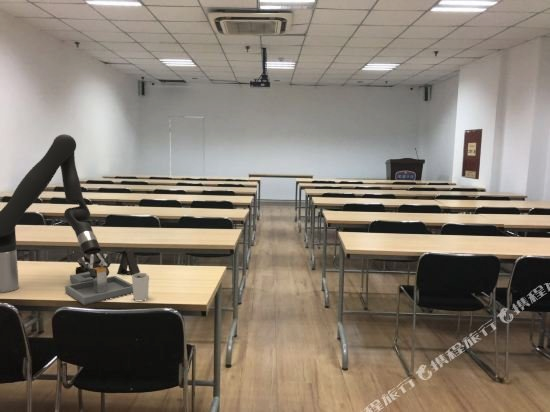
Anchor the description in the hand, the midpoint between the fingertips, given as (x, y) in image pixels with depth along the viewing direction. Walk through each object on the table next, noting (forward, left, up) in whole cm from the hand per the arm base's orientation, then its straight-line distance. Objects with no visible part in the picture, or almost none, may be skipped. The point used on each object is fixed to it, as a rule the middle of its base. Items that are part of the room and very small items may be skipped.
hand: (101, 276), depth 183 cm
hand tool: (+11, +38, -8) cm, 41 cm away
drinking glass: (+9, -17, -8) cm, 21 cm away
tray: (0, +1, -8) cm, 8 cm away
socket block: (+2, +19, -8) cm, 20 cm away
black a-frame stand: (+22, +20, -8) cm, 31 cm away
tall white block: (0, +1, -7) cm, 7 cm away
